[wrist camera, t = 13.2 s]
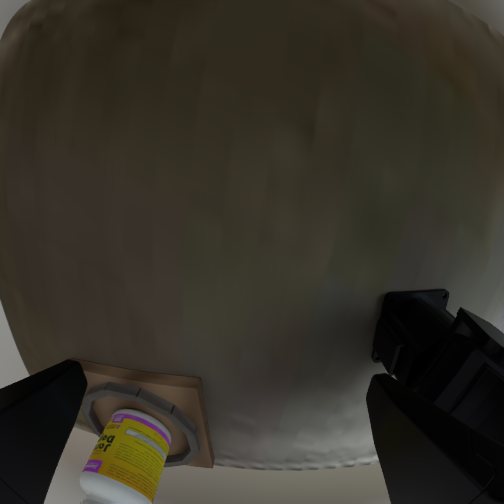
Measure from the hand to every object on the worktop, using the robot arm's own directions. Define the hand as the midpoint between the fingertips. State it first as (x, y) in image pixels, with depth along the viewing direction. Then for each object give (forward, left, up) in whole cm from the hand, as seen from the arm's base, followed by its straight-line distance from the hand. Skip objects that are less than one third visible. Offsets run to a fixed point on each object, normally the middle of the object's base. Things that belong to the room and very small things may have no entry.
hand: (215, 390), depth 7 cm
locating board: (+11, +18, -13) cm, 25 cm away
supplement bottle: (+11, +18, -12) cm, 24 cm away
